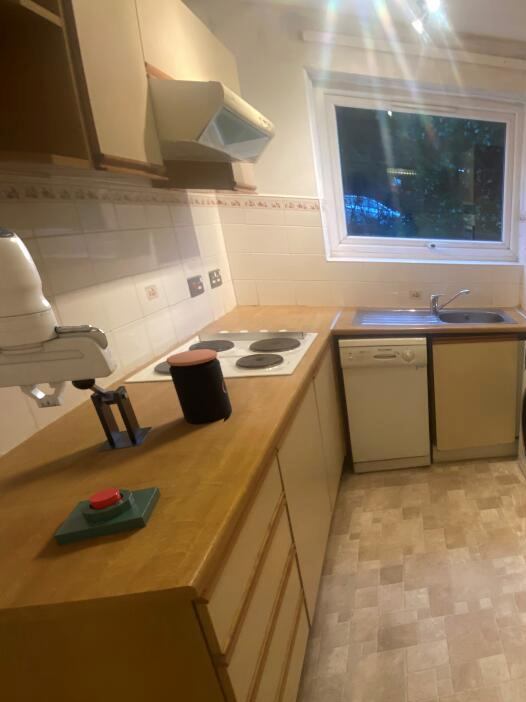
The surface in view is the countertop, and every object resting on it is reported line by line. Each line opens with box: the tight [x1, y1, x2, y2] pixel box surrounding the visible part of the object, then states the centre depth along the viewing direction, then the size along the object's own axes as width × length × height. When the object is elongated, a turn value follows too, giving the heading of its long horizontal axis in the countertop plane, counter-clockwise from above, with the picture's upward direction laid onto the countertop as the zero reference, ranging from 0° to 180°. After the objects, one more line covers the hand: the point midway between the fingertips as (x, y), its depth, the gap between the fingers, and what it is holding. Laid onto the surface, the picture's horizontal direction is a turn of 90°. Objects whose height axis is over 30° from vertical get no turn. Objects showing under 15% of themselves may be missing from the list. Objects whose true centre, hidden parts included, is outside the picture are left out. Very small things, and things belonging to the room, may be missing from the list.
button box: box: [53, 485, 162, 546], centre depth 79 cm, size 12×10×4 cm
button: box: [88, 487, 121, 509], centre depth 78 cm, size 4×4×2 cm
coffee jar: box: [165, 348, 233, 425], centre depth 114 cm, size 11×11×18 cm
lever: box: [71, 378, 117, 406], centre depth 95 cm, size 14×4×4 cm
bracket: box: [89, 385, 153, 453], centre depth 102 cm, size 10×8×14 cm
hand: (52, 405), depth 76 cm, fingers closed
